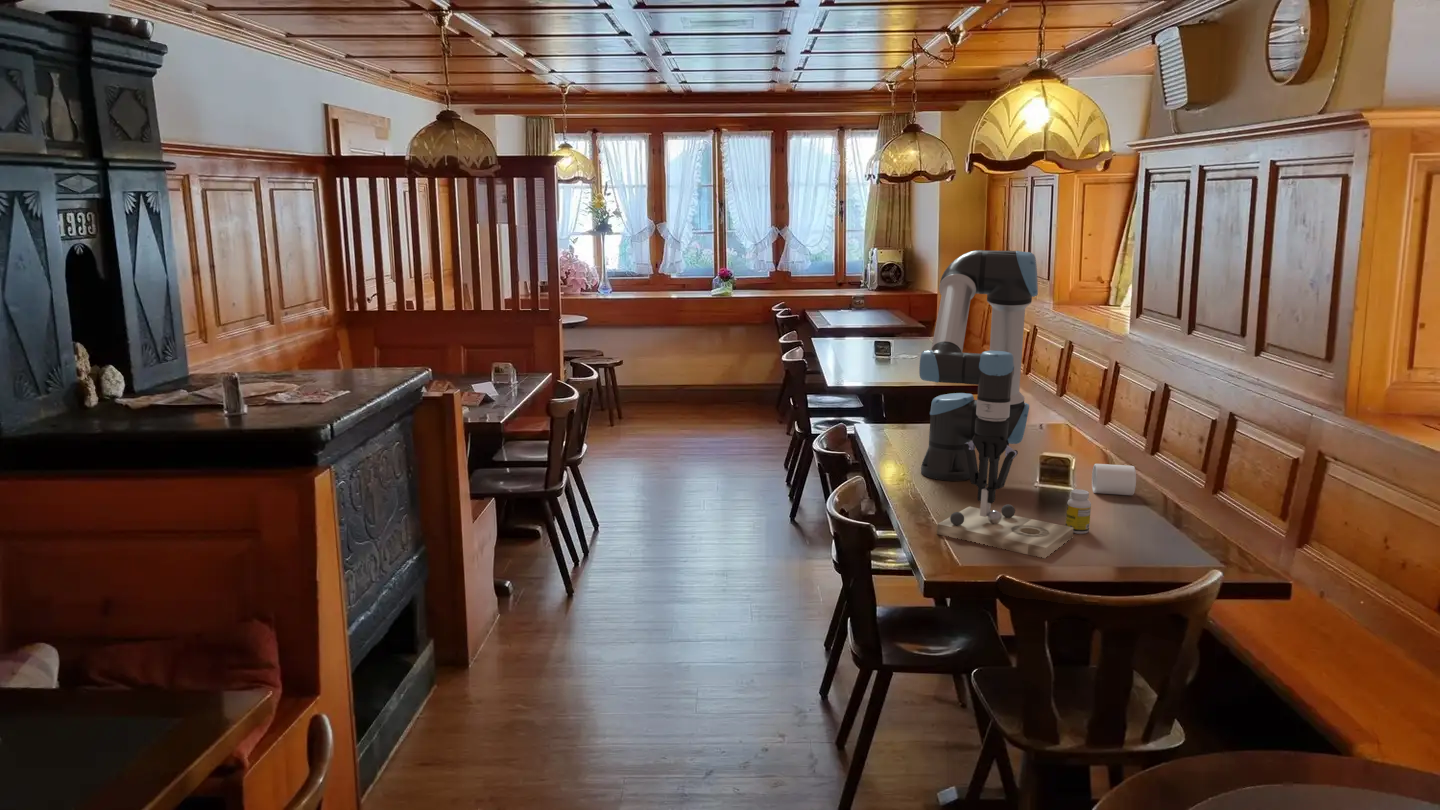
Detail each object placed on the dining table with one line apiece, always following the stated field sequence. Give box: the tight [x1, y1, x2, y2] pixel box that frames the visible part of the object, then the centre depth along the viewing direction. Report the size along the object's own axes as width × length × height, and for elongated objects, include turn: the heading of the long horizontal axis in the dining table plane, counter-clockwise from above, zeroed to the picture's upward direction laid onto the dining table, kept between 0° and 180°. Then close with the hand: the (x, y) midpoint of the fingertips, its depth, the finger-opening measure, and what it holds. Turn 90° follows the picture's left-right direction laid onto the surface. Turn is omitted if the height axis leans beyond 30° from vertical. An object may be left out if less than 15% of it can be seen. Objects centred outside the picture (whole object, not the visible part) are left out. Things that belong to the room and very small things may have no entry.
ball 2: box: [1000, 504, 1016, 518], centre depth 243 cm, size 3×3×3 cm
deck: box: [936, 505, 1074, 559], centre depth 238 cm, size 26×18×2 cm
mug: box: [1091, 463, 1137, 496], centre depth 275 cm, size 12×10×8 cm
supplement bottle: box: [1064, 488, 1092, 535], centre depth 242 cm, size 5×5×10 cm
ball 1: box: [949, 511, 964, 526], centre depth 237 cm, size 3×3×3 cm
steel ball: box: [988, 509, 1002, 524], centre depth 239 cm, size 3×3×3 cm
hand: (984, 515), depth 240 cm, fingers closed
